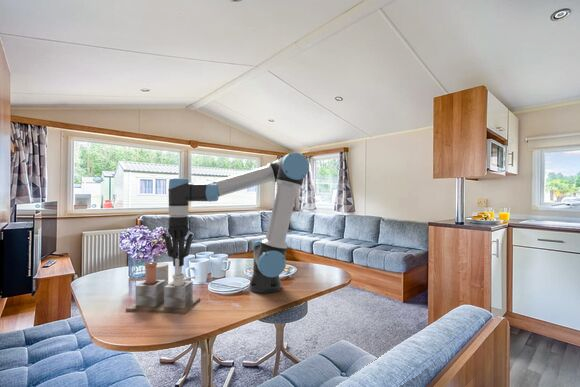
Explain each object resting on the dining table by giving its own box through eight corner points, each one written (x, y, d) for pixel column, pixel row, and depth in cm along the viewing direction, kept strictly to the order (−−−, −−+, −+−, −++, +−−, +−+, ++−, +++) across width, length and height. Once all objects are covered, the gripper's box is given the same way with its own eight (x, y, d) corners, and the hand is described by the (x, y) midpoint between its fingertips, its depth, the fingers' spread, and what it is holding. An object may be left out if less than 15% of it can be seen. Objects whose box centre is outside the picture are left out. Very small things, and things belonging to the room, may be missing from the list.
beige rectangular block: (161, 294, 130) (161, 267, 130) (145, 292, 132) (145, 266, 131) (172, 288, 138) (171, 263, 138) (157, 286, 140) (156, 262, 139)
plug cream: (186, 297, 119) (186, 273, 119) (181, 301, 114) (181, 276, 114) (176, 296, 119) (176, 272, 119) (170, 300, 115) (170, 276, 115)
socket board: (200, 299, 123) (200, 279, 123) (184, 314, 109) (184, 290, 109) (147, 297, 126) (147, 277, 126) (126, 311, 112) (125, 288, 112)
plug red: (159, 285, 120) (159, 262, 120) (153, 289, 116) (152, 265, 115) (149, 285, 121) (148, 261, 120) (142, 289, 116) (142, 264, 116)
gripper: (198, 215, 119) (197, 272, 120) (168, 214, 121) (168, 270, 121) (189, 217, 112) (189, 277, 112) (158, 216, 113) (158, 276, 114)
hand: (178, 273), depth 117 cm, fingers closed
